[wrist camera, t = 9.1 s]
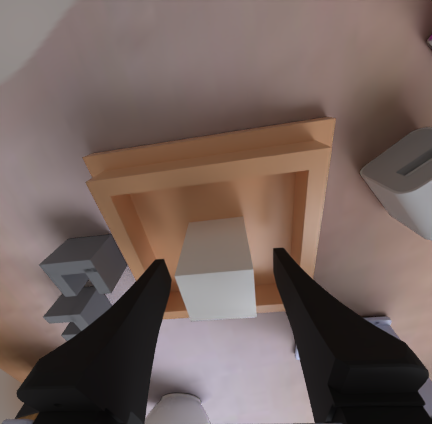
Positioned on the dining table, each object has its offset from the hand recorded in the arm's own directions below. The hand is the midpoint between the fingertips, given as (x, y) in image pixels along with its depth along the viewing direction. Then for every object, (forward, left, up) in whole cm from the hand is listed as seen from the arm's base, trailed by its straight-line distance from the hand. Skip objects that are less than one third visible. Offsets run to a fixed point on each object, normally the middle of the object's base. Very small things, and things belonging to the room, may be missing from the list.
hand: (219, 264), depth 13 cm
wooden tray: (0, 0, -4) cm, 4 cm away
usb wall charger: (-13, -2, -4) cm, 14 cm away
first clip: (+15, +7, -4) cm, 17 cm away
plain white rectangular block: (0, 0, -3) cm, 2 cm away
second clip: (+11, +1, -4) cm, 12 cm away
